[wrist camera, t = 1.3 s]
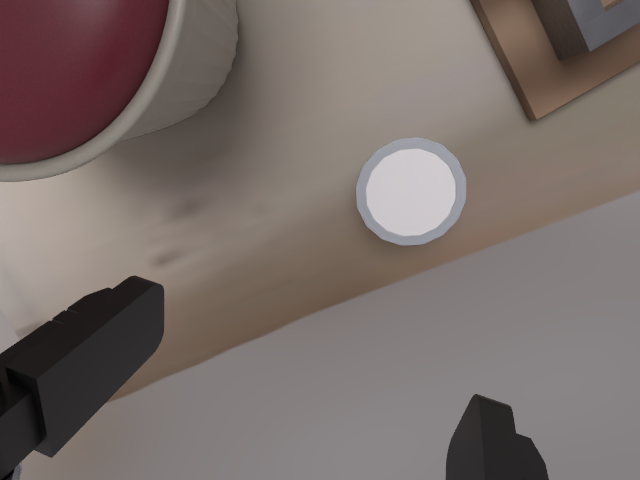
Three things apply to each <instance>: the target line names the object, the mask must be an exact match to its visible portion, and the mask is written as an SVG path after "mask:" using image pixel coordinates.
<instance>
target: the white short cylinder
mask: <svg viewBox="0 0 640 480" xmlns="http://www.w3.org/2000/svg"><path fill="white" fill-rule="evenodd" d="M356 197H357V208H358V210H359V212H360V214H361V216H362V218H363V220H364V222H365V224H366V226H367V227H368V228H369V229H371V230H372V231H373V232H374V233H375V234H376V235H378V236H379V237H380V238H381V239H383V240H386V241H389V242H392V243H395V244H398V245H401V246H403V245H421V244H425V243H427V242H429V241H431V240H434V239H436V238H438V237H440V236H442V235H443V234H444V233H445V232H446V231H447V230H448V229H449V228H450V227H451V226H452V225H453V224H454V223H455V222H456V221H457V220H458V218H459V216H460V213H461V211H462V209H463V206H464V204H465V202H466V177H465V175H464V172H463V170H462V168H461V166H460V163H459V161H458V159H457V158H456V157H455V156H454V155H453V154H452V153H451V152H449V151H448V150H447V149H446V148H445V147H444V146H443V145H442V144H439V143H436V142H433V141H430V140H427V139H424V138H421V137H416V138H405V139H397V140H395V141H393V142H391V143H389V144H387V145H385V146H383V147H381V148H379V149H377V150H376V152H375V153H374V154H373V155H372V156H371V157H370V159H369V160H368V161H367V162H366V163H365V164H364V165H363V167H362V170H361V173H360V176H359V179H358V182H357V185H356Z"/></svg>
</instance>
